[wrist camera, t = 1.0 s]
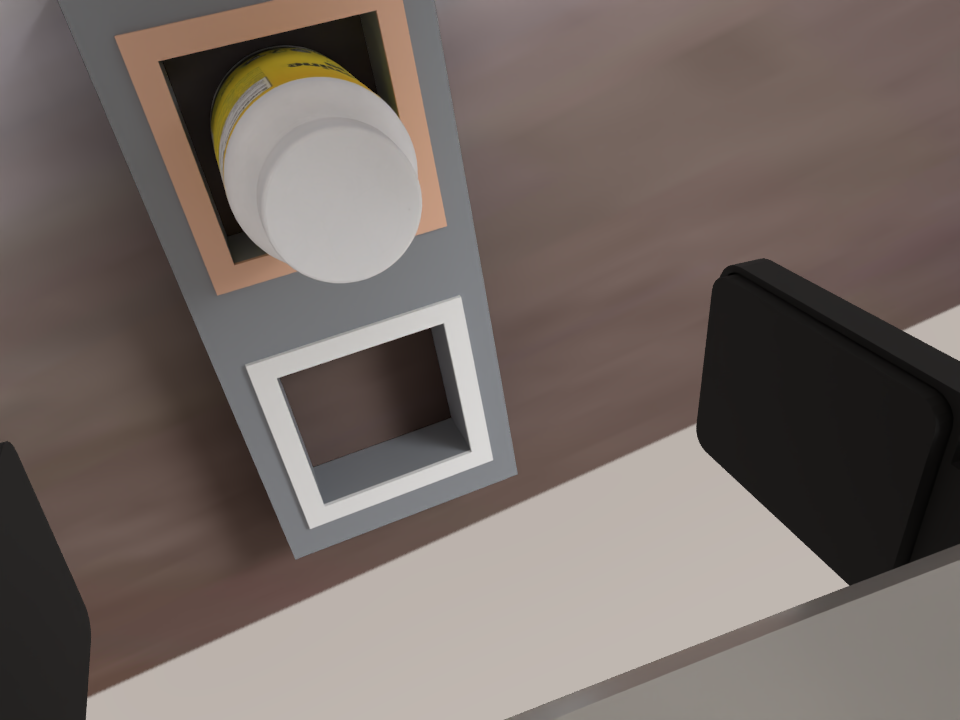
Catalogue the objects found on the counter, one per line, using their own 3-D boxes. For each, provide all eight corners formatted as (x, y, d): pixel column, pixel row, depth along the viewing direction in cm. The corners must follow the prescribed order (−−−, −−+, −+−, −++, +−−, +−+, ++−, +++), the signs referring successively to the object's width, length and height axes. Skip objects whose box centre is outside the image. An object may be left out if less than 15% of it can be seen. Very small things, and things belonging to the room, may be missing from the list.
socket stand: (395, -90, 29) (420, -90, 26) (496, 442, 43) (519, 476, 40) (60, -21, 26) (50, -13, 24) (286, 520, 40) (296, 562, 38)
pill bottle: (394, 107, 32) (489, 183, 23) (309, 225, 33) (369, 342, 24) (265, 4, 29) (319, 48, 20) (175, 141, 30) (188, 241, 21)
